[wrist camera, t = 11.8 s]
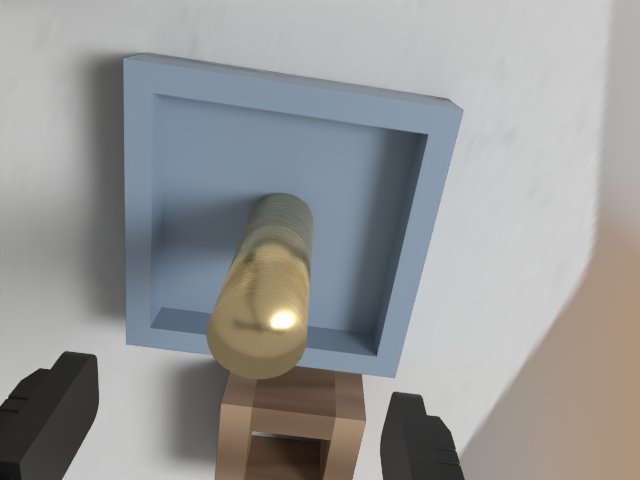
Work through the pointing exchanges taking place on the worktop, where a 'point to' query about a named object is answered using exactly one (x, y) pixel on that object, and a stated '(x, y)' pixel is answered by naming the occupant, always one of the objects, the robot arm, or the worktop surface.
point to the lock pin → (266, 292)
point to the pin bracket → (291, 426)
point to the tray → (279, 177)
